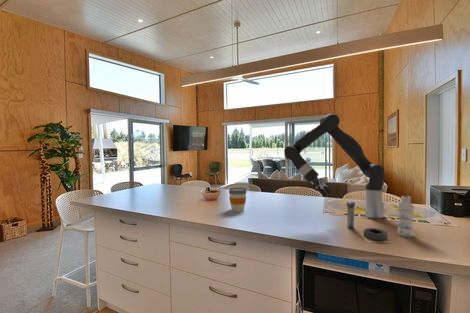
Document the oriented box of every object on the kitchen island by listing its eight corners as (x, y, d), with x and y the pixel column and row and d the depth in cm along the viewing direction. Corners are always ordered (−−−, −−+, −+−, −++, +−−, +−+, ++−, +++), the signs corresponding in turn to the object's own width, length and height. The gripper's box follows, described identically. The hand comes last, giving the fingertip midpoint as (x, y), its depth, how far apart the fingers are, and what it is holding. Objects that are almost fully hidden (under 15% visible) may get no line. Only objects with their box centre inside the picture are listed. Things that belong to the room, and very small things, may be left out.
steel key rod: (353, 228, 133) (353, 201, 132) (356, 231, 129) (356, 203, 128) (345, 228, 133) (345, 201, 132) (348, 230, 129) (348, 203, 128)
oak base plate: (381, 235, 122) (381, 233, 122) (395, 244, 110) (395, 242, 110) (356, 235, 123) (356, 233, 123) (368, 244, 111) (368, 242, 111)
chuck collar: (380, 234, 120) (380, 228, 120) (390, 241, 111) (390, 234, 111) (361, 234, 121) (361, 228, 121) (370, 241, 112) (370, 234, 112)
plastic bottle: (394, 235, 122) (394, 195, 121) (406, 234, 123) (407, 195, 122) (404, 240, 116) (404, 198, 115) (417, 239, 116) (417, 197, 116)
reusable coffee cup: (249, 209, 177) (249, 188, 177) (240, 213, 167) (240, 191, 166) (235, 206, 184) (234, 187, 183) (225, 210, 173) (225, 189, 173)
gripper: (308, 169, 136) (329, 191, 130) (317, 167, 148) (336, 188, 141) (299, 178, 140) (319, 200, 133) (308, 175, 151) (327, 196, 145)
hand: (328, 194), depth 137 cm, fingers open, 8 cm apart
